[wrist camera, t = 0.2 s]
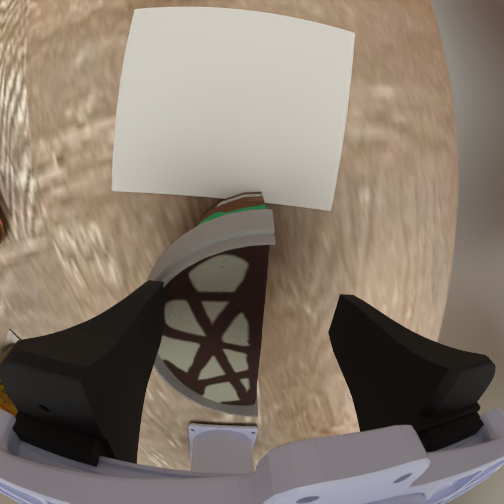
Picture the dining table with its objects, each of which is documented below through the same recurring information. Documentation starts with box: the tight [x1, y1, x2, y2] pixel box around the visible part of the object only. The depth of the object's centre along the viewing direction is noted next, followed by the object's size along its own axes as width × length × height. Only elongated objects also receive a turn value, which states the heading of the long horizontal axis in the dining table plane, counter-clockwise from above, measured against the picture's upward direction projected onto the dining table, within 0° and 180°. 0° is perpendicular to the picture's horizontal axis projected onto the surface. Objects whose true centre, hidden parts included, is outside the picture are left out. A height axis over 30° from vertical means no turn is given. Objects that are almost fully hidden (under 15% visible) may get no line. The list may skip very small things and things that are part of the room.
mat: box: [112, 7, 355, 211], centre depth 18 cm, size 14×16×1 cm
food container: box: [148, 192, 276, 417], centre depth 17 cm, size 12×6×10 cm, turn 178°
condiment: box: [0, 330, 20, 417], centre depth 20 cm, size 7×8×12 cm
